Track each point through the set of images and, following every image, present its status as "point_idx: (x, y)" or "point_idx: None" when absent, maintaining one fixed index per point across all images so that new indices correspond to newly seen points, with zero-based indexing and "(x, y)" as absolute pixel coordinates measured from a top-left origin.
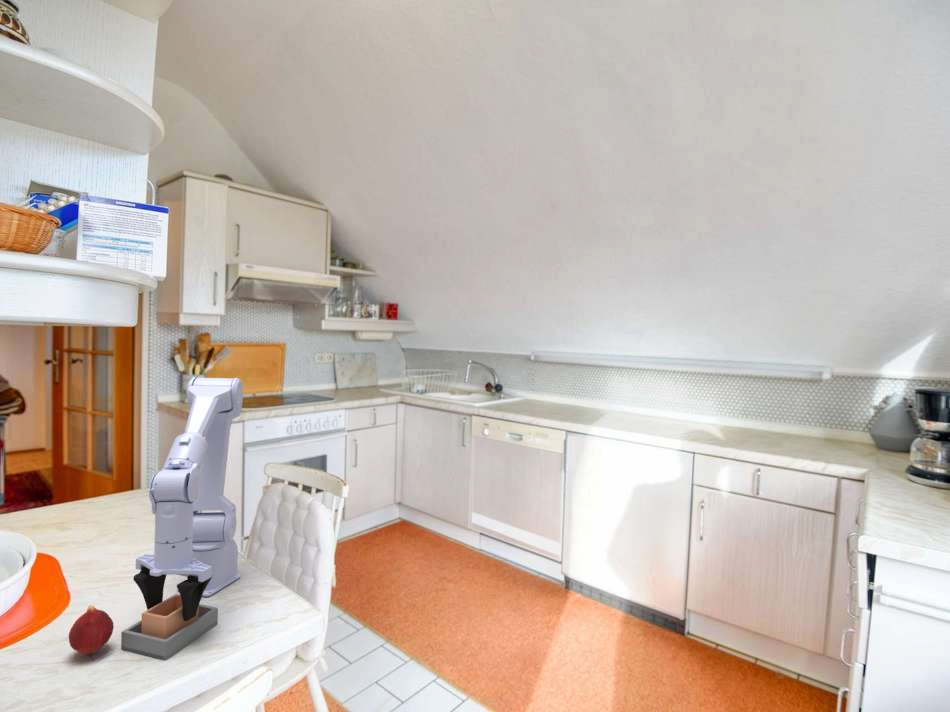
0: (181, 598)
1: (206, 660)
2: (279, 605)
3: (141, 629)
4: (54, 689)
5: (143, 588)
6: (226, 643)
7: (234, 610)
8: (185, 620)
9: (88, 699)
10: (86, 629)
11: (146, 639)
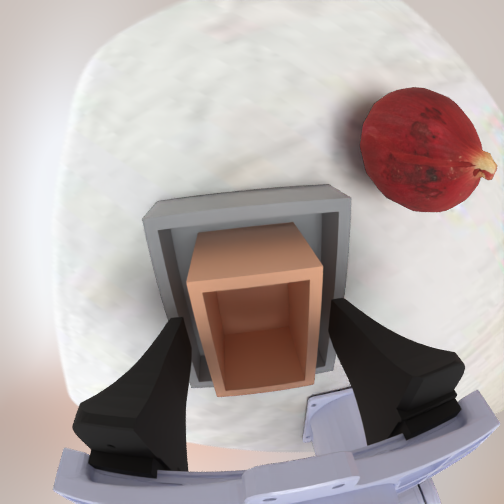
0: (158, 374)
1: (75, 249)
2: None
3: (304, 238)
4: (319, 10)
5: (394, 348)
6: (102, 313)
7: (212, 393)
8: (173, 318)
9: (193, 11)
10: (419, 103)
11: (232, 205)
